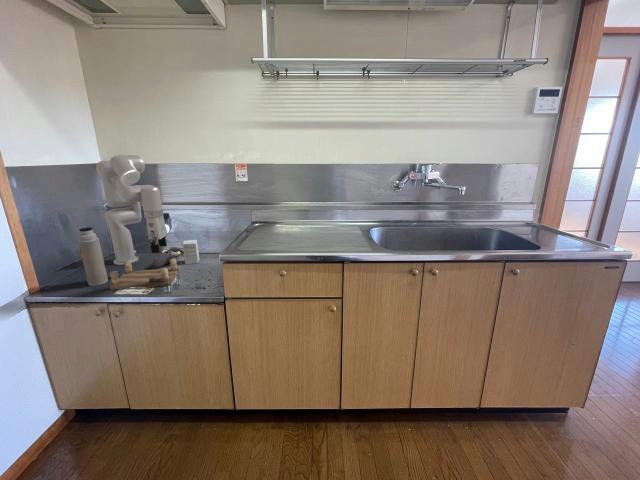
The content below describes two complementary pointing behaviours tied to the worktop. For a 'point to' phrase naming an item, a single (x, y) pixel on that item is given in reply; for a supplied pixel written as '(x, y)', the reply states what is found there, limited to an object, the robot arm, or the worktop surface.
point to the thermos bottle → (92, 257)
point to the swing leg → (163, 276)
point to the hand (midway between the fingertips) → (159, 249)
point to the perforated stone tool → (163, 258)
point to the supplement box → (190, 251)
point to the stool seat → (142, 277)
